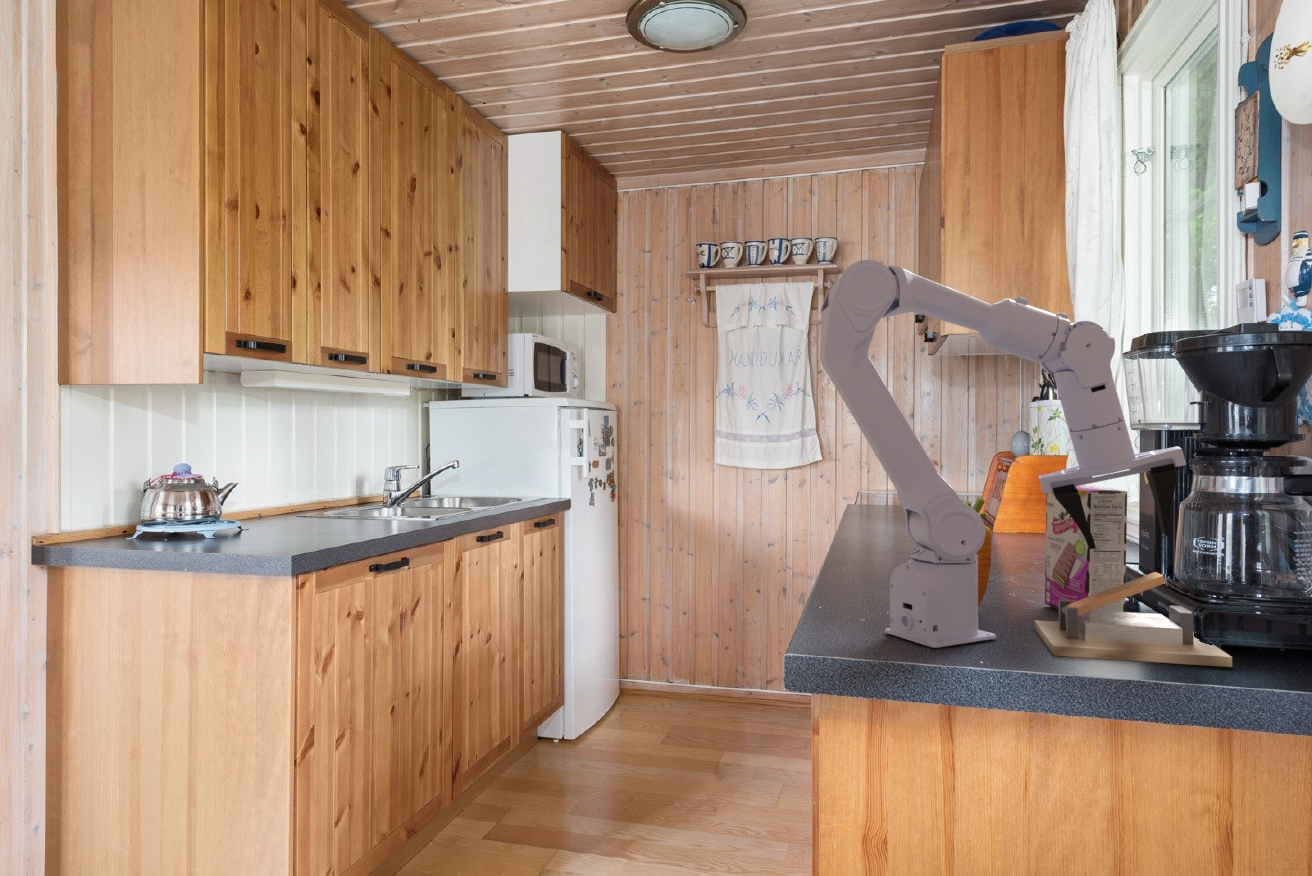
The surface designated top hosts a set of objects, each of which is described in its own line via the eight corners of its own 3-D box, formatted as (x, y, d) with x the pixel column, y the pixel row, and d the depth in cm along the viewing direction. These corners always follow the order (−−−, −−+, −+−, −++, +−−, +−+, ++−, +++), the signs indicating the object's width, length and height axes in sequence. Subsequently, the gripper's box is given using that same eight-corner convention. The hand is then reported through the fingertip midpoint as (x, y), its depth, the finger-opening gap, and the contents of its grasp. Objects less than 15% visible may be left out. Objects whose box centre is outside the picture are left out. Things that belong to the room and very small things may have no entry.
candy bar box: (1041, 605, 107) (1044, 483, 107) (1078, 606, 107) (1081, 484, 107) (1085, 624, 96) (1088, 488, 96) (1127, 625, 96) (1130, 489, 96)
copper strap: (1068, 619, 87) (1064, 611, 87) (1063, 614, 89) (1059, 607, 89) (1166, 583, 84) (1162, 575, 84) (1159, 578, 86) (1155, 571, 87)
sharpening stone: (1069, 641, 85) (1069, 610, 85) (1057, 626, 92) (1056, 597, 92) (1199, 649, 81) (1199, 616, 81) (1176, 632, 88) (1176, 603, 88)
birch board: (1053, 655, 83) (1053, 645, 83) (1034, 628, 94) (1034, 620, 94) (1232, 667, 78) (1232, 657, 78) (1189, 637, 90) (1189, 628, 90)
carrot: (947, 607, 107) (946, 495, 107) (985, 607, 107) (984, 495, 107) (960, 615, 102) (959, 498, 102) (1000, 615, 102) (999, 498, 102)
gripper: (1162, 406, 91) (1194, 520, 91) (1027, 437, 97) (1057, 544, 97) (1174, 410, 85) (1209, 533, 85) (1029, 443, 91) (1061, 558, 91)
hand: (1129, 540), depth 90 cm, fingers open, 7 cm apart
